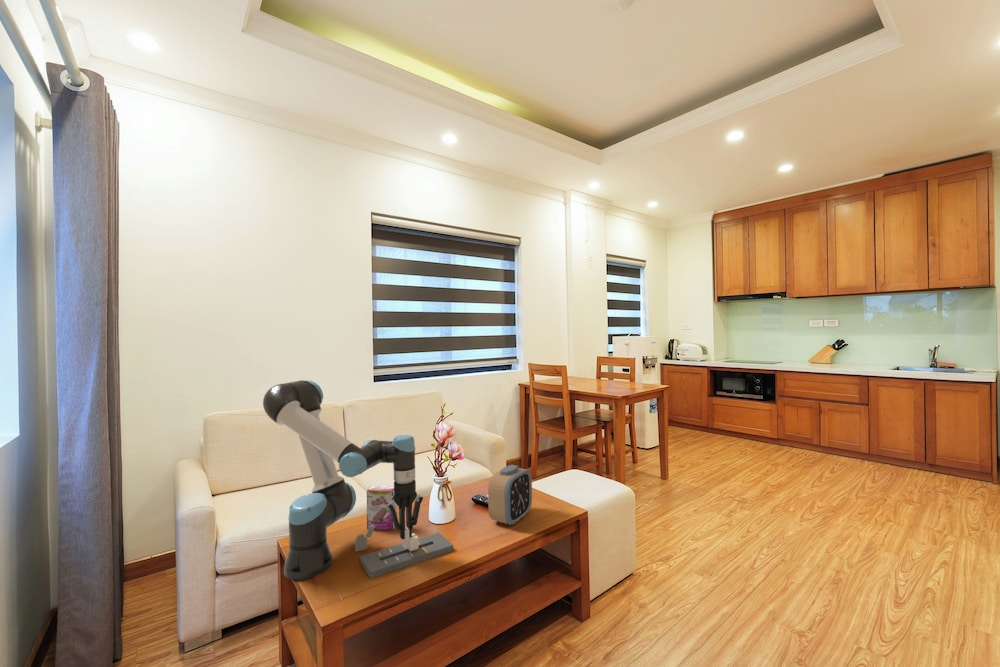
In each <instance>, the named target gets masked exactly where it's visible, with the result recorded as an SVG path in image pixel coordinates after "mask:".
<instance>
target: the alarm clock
mask: <svg viewBox="0 0 1000 667" xmlns="http://www.w3.org/2000/svg"><path fill="white" fill-rule="evenodd" d="M489 479H490V480H489V483H488V488H487V489H488V492H487V494H488V500H487V504H488V515H489V518H490V519H491V520H493V521H496V523H499V522H500V523H499V524H502V523H505V524H504V525H506V524H509V525H508V526H510V525H513V524H515V523H516V522H517V521H518V522H519V521H521V520H522V519H523V518H525V516H526V515H527V514H528V513H529V512H530V510H531V507H532V502H533V500H532V499H533V490H532V488H533V481H532V480H533V478H532V474H531V471H530V470H528V469H525V468H519V465H515V464H509V465H507V466H505V467H503V468H501V469H500V470H499V471H497V472H496V473H494V474H493V475H492V476H491V478H489ZM522 517H523V518H522ZM521 518H522V519H521ZM520 519H521V520H520ZM518 522H517V523H518ZM517 523H516V524H517ZM516 524H515V525H516ZM513 526H514V525H513Z"/></svg>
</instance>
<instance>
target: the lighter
mask: <svg viewBox="0 0 1000 667" xmlns="http://www.w3.org/2000/svg"><path fill="white" fill-rule="evenodd" d="M374 529H375V525H372V524H371V526H370V528H369V529H367V533H366V535H364V533H360V534H358V535H357V536H356V537H354V552H359V551H364V550H367V549H368V538H372V535H373V533H374Z"/></svg>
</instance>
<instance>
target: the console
mask: <svg viewBox="0 0 1000 667" xmlns="http://www.w3.org/2000/svg"><path fill="white" fill-rule="evenodd" d="M418 542H419V549H418V550H415V551H412V552H410V551H409V550H408V549H405V548H404V547H403V542H401V543H400V544H396V545H393V546H390V547H387V548H383V549H380V550H376V551H373V552H370V553H367V554H364V555H361V556H359V563H360V565H361V566H362V567H363V569H364V570H365V572H366V573H367V575H368V577H369V578H370V579H374V578H377V577H379V576H382V575H386V574H388V573H390V572H391V573H392V572H394V571H397V570H401V569H403V568H406V567H409V566H411V565H414V564H415V565H416V564H418V563H421V562H424V561H426V560H430V559H431V558H436V557H438V556H440V555H444V554H447V553H450V552H453V551H454V544H452V542H451V541H449V540H448V539H447V538H446V537H444V536H443V535H442V534H441V533H440V532H436V533H432V534H429V535H426V536H422V537H418Z"/></svg>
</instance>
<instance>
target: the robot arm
mask: <svg viewBox="0 0 1000 667" xmlns="http://www.w3.org/2000/svg"><path fill="white" fill-rule="evenodd" d="M323 399H324V393H323V390H322V388H321V387H320V385H319V384H318V383H316V382H315V381H312V380H308V379H307V380H306V379H305V380H304V379H302V380H297V381H291V382H284V383H278V384H275V385H273V386H272V387H270V388H269V389H268V390H267V391H266V393H265V394H264V396H263V400H262V406H263V409H264V411H265V414H266V415H267V416H268V417H269V418H270V420H272V421H273V422H274V423H276V424H277V425H279V426H285V427H287V428H289V429H290V430H292V431H293V432H294V433H296V435H298V438H299V440H300V443H301V446H302V450H303V453H304V456H305V459H306V462H307V465H308V466H307V467H308V468H309V471H310V475H311V478H312V481H313V484H314V485H313V488H312V489H311V493H308V494H305V495H302V496H300V497H298V498H296V499H295V500H293V502H291V504H290V506H289V508H288V509H289V511H288V534H289V535H288V538H289V540H288V541H289V547H288V548H289V549H288V553H287V556H286V559H285V561H284V565H283V575H284V577H285V578H286V579H289V580H291V581H304V580H310V579H312V578H313V579H314V578H315V577H316V576H319V575H321V574H322V573H325V572H326V571H327V570H328V569H330V568H331V567H332V565H333V554H332V551H331V549H330V546H329V543H328V537H327V533H328V532H327V531H328V529H327V528H329V527H330V526H332V525H334V524H335V523H337V522H338V521H340V520H341V519H343V518H344V517H346V516H347V515H348V514H350V512H351V511H352V510H353V509H354V507H355V505H356V501H357V495H356V490H355V488H354V487H353V486H352V485H350V483H349V482H346V481H345V478H344V477H342V476H340V475H339V474H338V470H337V468H336V464H335V462H334V461H336V462H337V463H338V468H339V470H340V472H341V474H342V475H343V476H345V477H346V478H354V477H357V476H359V475H361V474H363V473H365V472H366V471H367V470H369V469H371V468H373V467H375V466H377V465H378V464H381V463H382V464H383V463H385V464H393V487H394V497H393V500H392V501H391V502H390V503H387V506H388V508H389V509H390V512H391V516H392V520H393V523H394V527H395V528H394V529H396V530H397V531H399V538H400V539H401V540H402V543H403V547H404V548H405V549H408V548H410V543H409V537H411V536H412V534H413V533H412V530H413V528H414V526H416V525H417V524H418V520H419V513H420V509H421V504H422V501H423V500H424V497H423V496H422V495H420V494H417V491H416V489H417V488H416V485H417V484H416V446H415V445H416V444H415V437H413V436H412V435H409V434H401V435H400V434H399V435H396V436H394V437H393V439H392V441H391V440H378V439H372V440H365V441H364V442H363V444H362V445H361V446H360V447H359V446H358V445H356V444H355V443H353V442H352V441H350V440H349V439H347V438H346V437H344V436H343V435H342V434H340V433H339V432H337V431H336V430H334V429H333V428H331V427H330V426H329V425H327V423H325V422H323V421H321V419H320V414H321V413H322V412H321V411H322V408H321V407H322V406H321V405H322V403H323ZM395 503H396V504H397V508H398V513H397V514H396V511H395V508H394V507H395Z"/></svg>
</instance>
